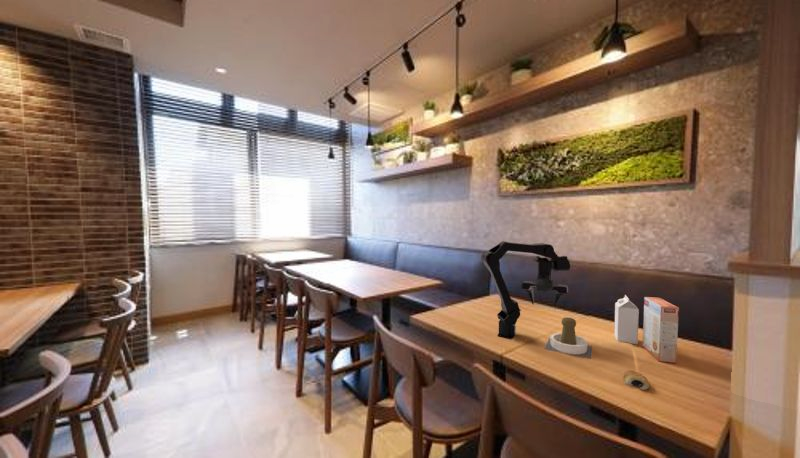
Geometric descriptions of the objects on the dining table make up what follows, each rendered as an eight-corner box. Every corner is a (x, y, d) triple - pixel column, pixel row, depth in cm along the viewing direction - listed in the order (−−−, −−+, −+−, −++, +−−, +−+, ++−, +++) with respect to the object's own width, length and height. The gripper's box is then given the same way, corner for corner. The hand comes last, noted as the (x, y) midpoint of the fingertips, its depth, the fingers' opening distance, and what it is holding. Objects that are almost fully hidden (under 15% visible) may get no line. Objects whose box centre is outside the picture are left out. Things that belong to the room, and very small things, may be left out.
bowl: (548, 350, 128) (548, 341, 128) (552, 338, 139) (553, 331, 139) (586, 357, 121) (586, 348, 121) (587, 345, 132) (587, 337, 132)
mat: (544, 350, 129) (544, 349, 129) (549, 339, 140) (549, 338, 140) (591, 360, 121) (591, 358, 120) (592, 347, 132) (592, 346, 131)
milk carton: (633, 338, 140) (635, 295, 139) (637, 345, 134) (639, 299, 132) (614, 336, 143) (615, 293, 142) (617, 342, 136) (618, 297, 135)
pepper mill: (580, 347, 128) (581, 320, 127) (566, 348, 127) (567, 321, 126) (569, 341, 134) (570, 315, 133) (556, 342, 133) (557, 316, 132)
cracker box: (677, 364, 117) (680, 307, 116) (658, 361, 119) (659, 305, 117) (659, 348, 130) (661, 297, 129) (641, 346, 132) (643, 296, 131)
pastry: (620, 374, 110) (621, 363, 110) (645, 379, 107) (645, 367, 107) (624, 387, 102) (625, 376, 102) (651, 393, 99) (651, 381, 99)
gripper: (518, 272, 143) (518, 307, 144) (566, 276, 133) (565, 314, 134) (524, 268, 152) (523, 301, 153) (568, 272, 142) (567, 307, 143)
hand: (544, 305), depth 146 cm, fingers open, 9 cm apart
